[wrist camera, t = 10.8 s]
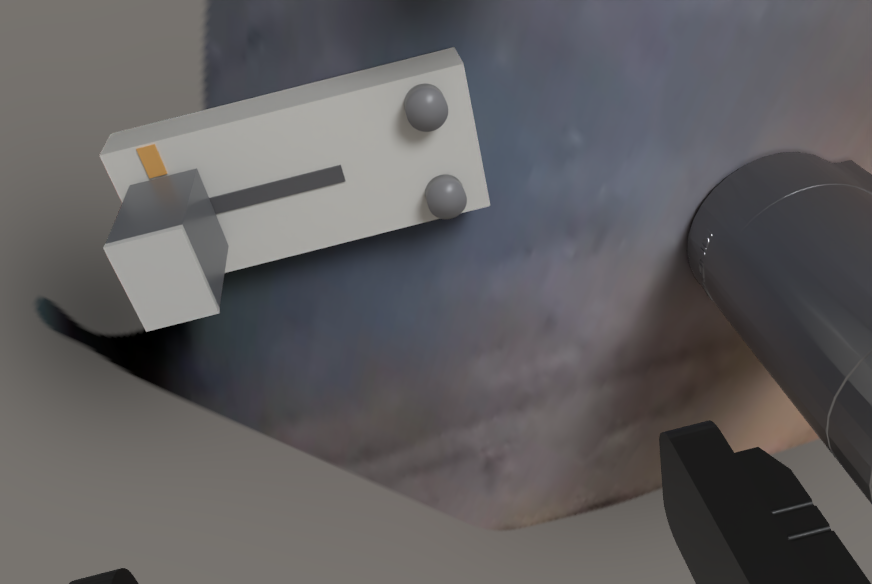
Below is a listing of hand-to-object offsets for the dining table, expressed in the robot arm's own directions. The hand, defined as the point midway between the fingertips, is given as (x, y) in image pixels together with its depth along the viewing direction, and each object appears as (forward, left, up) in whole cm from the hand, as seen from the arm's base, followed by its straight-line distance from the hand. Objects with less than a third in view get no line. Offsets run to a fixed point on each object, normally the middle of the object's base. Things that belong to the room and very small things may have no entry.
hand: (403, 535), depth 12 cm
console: (+3, +6, -28) cm, 29 cm away
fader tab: (+9, +6, -25) cm, 27 cm away
